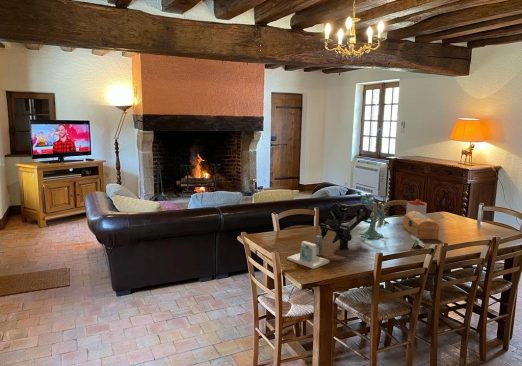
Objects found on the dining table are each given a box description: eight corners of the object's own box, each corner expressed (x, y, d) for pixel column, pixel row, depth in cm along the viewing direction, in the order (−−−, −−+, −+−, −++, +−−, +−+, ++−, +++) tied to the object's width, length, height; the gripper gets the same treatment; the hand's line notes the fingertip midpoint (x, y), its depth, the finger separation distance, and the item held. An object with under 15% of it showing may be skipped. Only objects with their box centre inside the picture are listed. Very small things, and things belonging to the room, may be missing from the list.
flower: (402, 245, 252) (412, 229, 276) (397, 251, 254) (408, 235, 279) (420, 259, 248) (429, 242, 272) (415, 265, 251) (424, 247, 275)
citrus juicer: (409, 218, 343) (411, 196, 340) (428, 223, 330) (431, 199, 327) (399, 221, 333) (401, 198, 330) (419, 226, 320) (421, 202, 317)
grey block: (317, 253, 246) (318, 235, 244) (321, 254, 244) (322, 236, 242) (305, 257, 238) (306, 238, 236) (309, 258, 236) (310, 240, 234)
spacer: (302, 257, 239) (302, 246, 238) (311, 260, 234) (311, 249, 233) (299, 258, 237) (300, 247, 236) (308, 261, 232) (309, 250, 231)
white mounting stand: (303, 253, 250) (304, 237, 248) (329, 262, 236) (330, 244, 234) (287, 259, 240) (287, 241, 238) (313, 268, 225) (314, 250, 224)
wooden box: (401, 227, 316) (402, 210, 314) (422, 228, 316) (423, 211, 313) (415, 239, 286) (416, 220, 284) (438, 239, 286) (440, 221, 284)
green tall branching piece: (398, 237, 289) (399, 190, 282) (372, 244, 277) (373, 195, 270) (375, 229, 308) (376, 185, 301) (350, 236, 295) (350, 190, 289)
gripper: (321, 211, 256) (309, 231, 250) (345, 216, 242) (333, 238, 237) (328, 220, 262) (317, 240, 257) (352, 226, 249) (341, 247, 244)
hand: (326, 241), depth 248 cm, fingers open, 9 cm apart
